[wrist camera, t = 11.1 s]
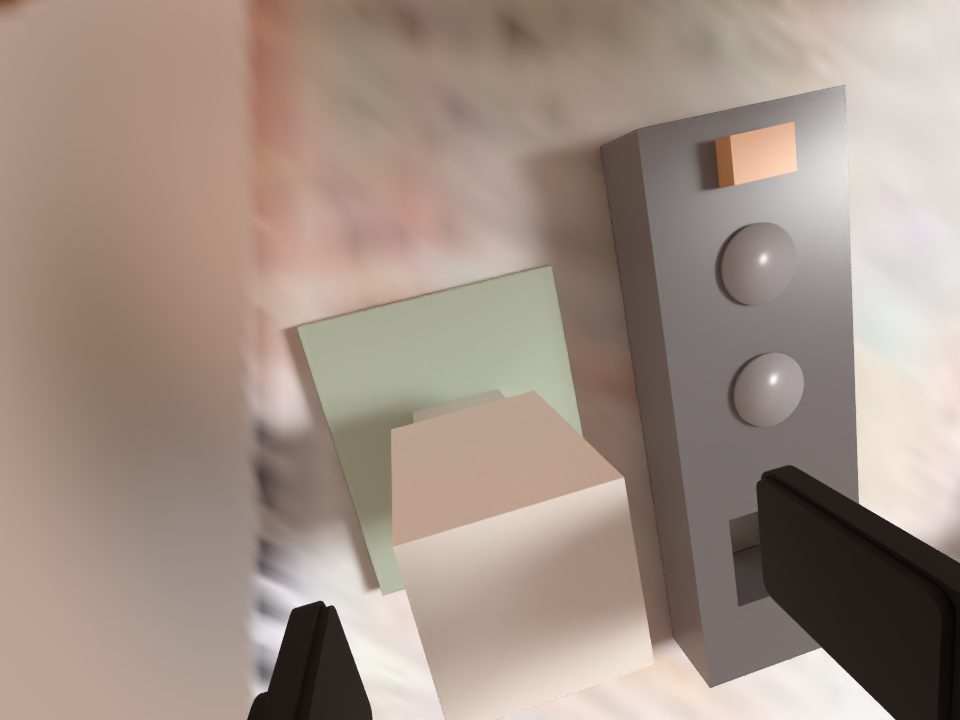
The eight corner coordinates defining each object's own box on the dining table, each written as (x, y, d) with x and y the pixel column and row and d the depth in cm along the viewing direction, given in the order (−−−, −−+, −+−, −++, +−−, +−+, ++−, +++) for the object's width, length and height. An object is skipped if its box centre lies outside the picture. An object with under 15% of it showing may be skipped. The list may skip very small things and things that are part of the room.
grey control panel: (600, 146, 20) (648, 123, 16) (781, 107, 21) (865, 77, 17) (673, 638, 26) (721, 703, 22) (811, 590, 27) (878, 645, 23)
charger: (390, 400, 20) (392, 547, 10) (511, 368, 20) (624, 477, 11) (421, 510, 21) (450, 736, 11) (534, 477, 22) (654, 664, 12)
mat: (299, 325, 19) (297, 327, 18) (547, 265, 20) (551, 265, 20) (383, 586, 22) (382, 595, 21) (594, 520, 23) (599, 527, 23)
